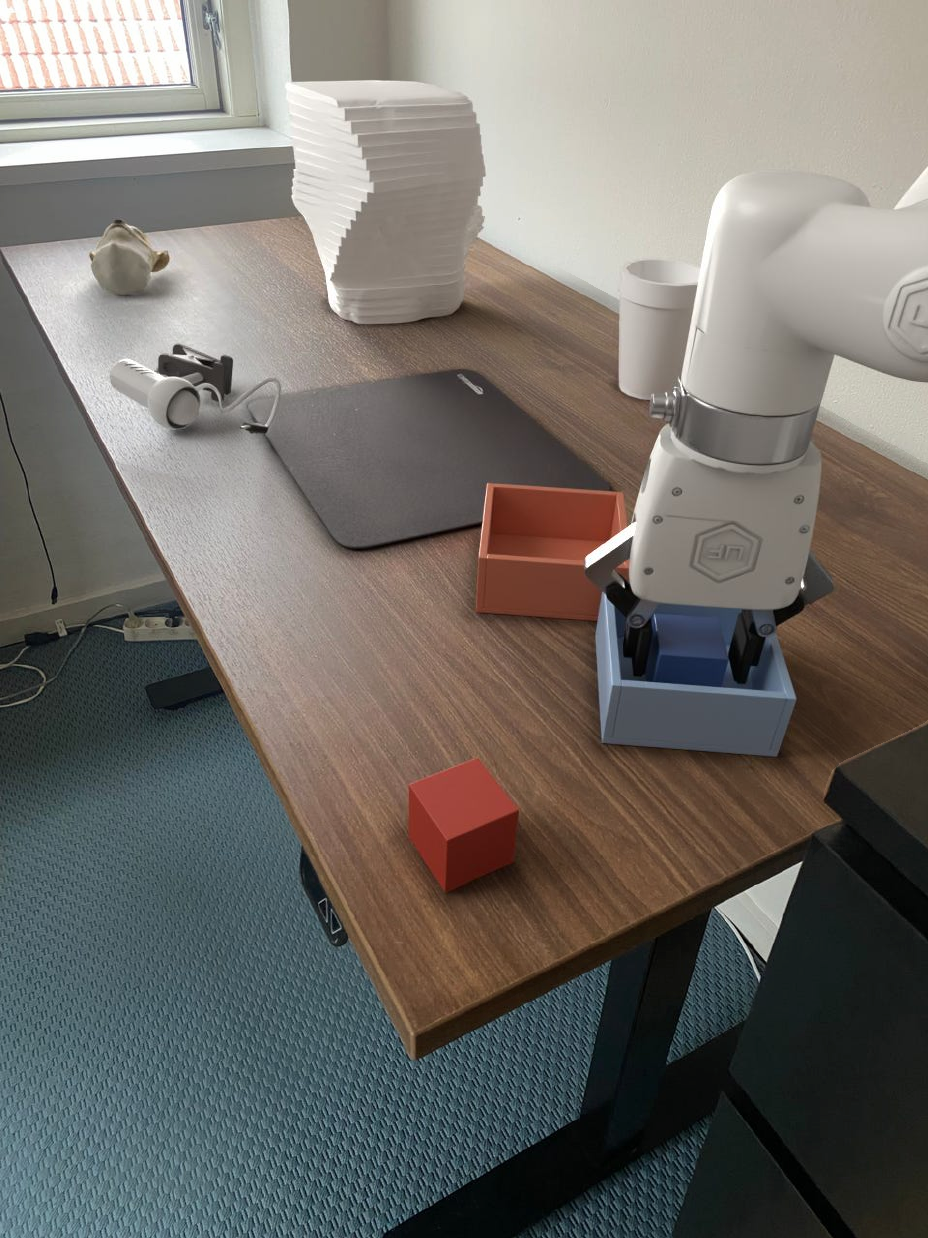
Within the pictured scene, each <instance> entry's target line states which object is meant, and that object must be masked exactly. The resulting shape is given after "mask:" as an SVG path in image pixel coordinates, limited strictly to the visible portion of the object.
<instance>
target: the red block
mask: <svg viewBox="0 0 928 1238" xmlns="http://www.w3.org/2000/svg"><path fill="white" fill-rule="evenodd" d="M519 814H520V810H519V808H518V807H517V806H516V804H515V803H514V802H513V800H512V799H511V797H510V796H509V795H508V794H507V793H506V791H505V790H504V789H503V787H502V786H501V785H500V784H499V783H498V781H497V780H496V779H495V777H494V776H493V775H492V774H491V772H490V770H489V769H488V768H487V767H486V766H485V765H484V763H483V762H482V761H481V759H480V758H479V757H475V758H472V759H470V760H467V761H465V762H463V763H459V764H457V765H454V766H451V767H449V768H447V769H444V770H443V771H442V770H441V771H439V772H437V773H434V774H432V775H429V776H427V777H424V778H421V779H419V780H416V781H413V782H412V783H409V784H408V838H409V839H410V841H411V842H412V844H413V845H414V848H415V849H416V850H417V852H418V854H419V855H420V856H421V858H422V859H423V861H424V862H425V864H426V866H427V868H428V869H429V870H430V872H431V874H432V875H433V876H434V879H436V881H437V883H438V884H439V886H440V887H441V889H442V890H443V892H444V893H448V892H450V891H453V890H455V889H457V888H460V887H461V886H464V885H466V884H468V883H471V882H473V881H475V880H477V879H479V878H481V877H484V876H485V875H488V874H490V873H492V872H495V871H497V870H499V869H502V868H504V867H506V866H508V865H510V864H512V863H514V860H515V851H516V842H517V833H518V825H519V823H518V821H519V816H520V815H519Z"/></svg>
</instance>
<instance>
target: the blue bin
mask: <svg viewBox="0 0 928 1238" xmlns="http://www.w3.org/2000/svg"><path fill="white" fill-rule="evenodd" d="M741 612H742V609H729V608H713V607H699V606H685V605H672V604H661V603H660V605H659V606H658V608H657V609H656V610H655V612H654V613H653V614H652V616H651V622H653V617H654V614H665V615H679V616H692V617H706V618H718V619H719V621H720V625H721V629H722V633H723V637H724V641H725V646H726V650H727V654H728V652H729V648H730V644H731V640H732V636H733V633H734V629H735V625H736V621H737V617H738V614H739V613H741ZM596 622H597V623H596V628H595V629H596V630H595V637H594V638H595V652H596V654H595V655H596V669H597V685H598V702H599V703H598V704H599V718H600V719H599V720H600V736H601V743H602V744H609V745H623V746H636V747H647V748H659V749H671V750H672V749H673V750H687V751H697V752H698V751H699V752H711V753H712V752H713V753H725V754H736V755H747V756H761V757H762V756H764V757H774V758H776V757H778V754H779V753H780V749H781V746H782V743H783V740H784V738H785V735H786V732H787V728H788V726H789V723H790V720H791V717H792V714H793V711H794V708H795V705H796V702H797V696H796V692H795V689H794V686H793V683H792V680H791V676H790V674H789V670H788V666H787V664H786V661H785V658H784V654H783V651H782V647H781V645H780V642H779V638H778V636H777V631H776V632H775V633H774V634H773V635H771V636H769V637H766V639H765V642H764V646H763V649H762V653H761V656H760V660H759V663H758V665H757V666H756V667H755V666H751V668H750V671H749V675H748V678H747V682H746V684H737V682H736V681H734V679H733V675H732V671H731V667H730V663H729V661H728V665H727V668H726V672H725V676H724V679H723V683H722V687H709V686H696V685H683V684H670V683H657V682H647V681H646V673H645V675H642V677H636V676H633V668H632V659H631V658H625V657H624V656H623V640H624V634H625V628H626V622H627V618H626V617H625V616H624V615H623V614H622V613H621V612H620V611H619V610H618V609H617V608H616V607H615V606H614V605H613V604H612V603H611V602H610V601H609V600H608V599H607V596H606V594H605V593H604V592H603V591H602V597H601V603H600V609H599V616H598V621H596Z"/></svg>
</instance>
